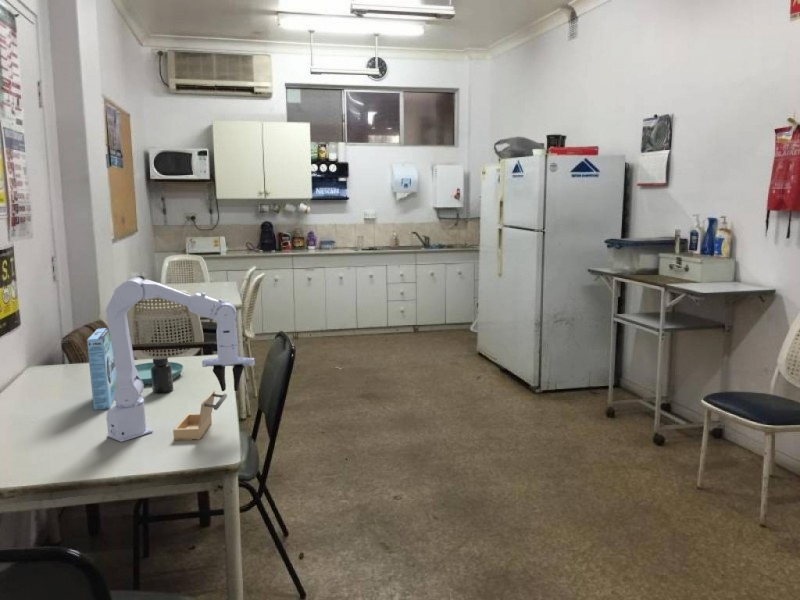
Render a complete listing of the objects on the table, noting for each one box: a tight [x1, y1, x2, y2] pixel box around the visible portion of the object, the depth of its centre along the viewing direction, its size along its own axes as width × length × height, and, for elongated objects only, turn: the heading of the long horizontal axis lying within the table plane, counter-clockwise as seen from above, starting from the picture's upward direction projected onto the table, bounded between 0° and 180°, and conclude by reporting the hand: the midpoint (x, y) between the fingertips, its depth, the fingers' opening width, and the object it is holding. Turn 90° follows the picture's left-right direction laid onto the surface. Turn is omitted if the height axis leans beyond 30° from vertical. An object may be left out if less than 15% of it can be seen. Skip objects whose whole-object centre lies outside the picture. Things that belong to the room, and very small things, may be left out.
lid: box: [198, 389, 228, 428], centre depth 172 cm, size 7×13×4 cm
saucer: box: [135, 361, 184, 386], centre depth 229 cm, size 24×24×3 cm
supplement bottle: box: [151, 355, 174, 395], centre depth 210 cm, size 7×7×12 cm
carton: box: [172, 413, 213, 442], centre depth 172 cm, size 7×13×3 cm, turn 3°
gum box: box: [86, 327, 116, 411], centre depth 200 cm, size 20×5×23 cm, turn 17°
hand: (230, 390), depth 176 cm, fingers open, 3 cm apart
